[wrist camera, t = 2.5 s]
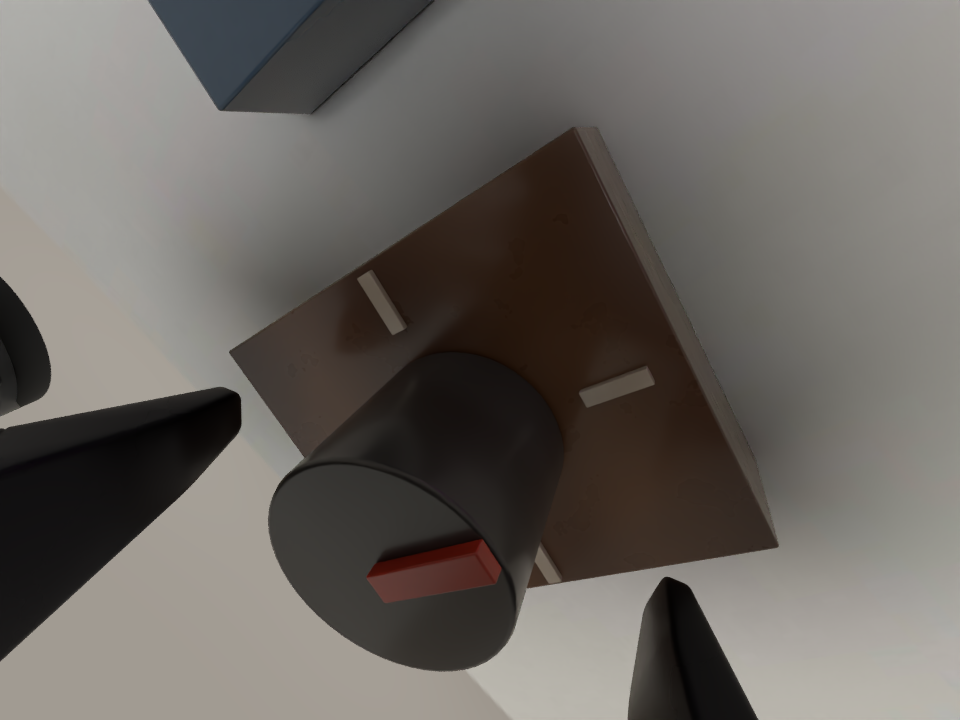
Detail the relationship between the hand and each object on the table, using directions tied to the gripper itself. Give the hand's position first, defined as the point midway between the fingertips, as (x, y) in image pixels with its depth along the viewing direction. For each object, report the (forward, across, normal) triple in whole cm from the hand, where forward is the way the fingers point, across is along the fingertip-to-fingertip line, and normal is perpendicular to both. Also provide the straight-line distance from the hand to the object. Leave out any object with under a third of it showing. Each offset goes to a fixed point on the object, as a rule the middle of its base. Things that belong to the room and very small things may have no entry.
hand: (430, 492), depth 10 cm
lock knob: (+2, 0, 0) cm, 2 cm away
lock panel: (+5, 0, 0) cm, 5 cm away
